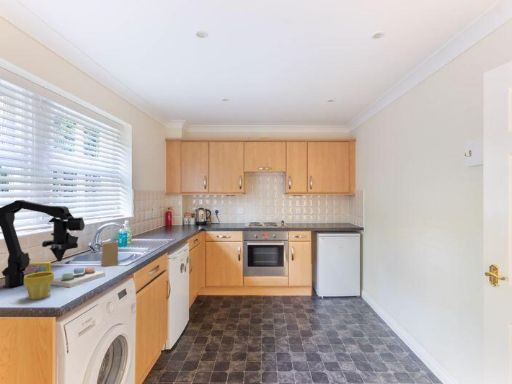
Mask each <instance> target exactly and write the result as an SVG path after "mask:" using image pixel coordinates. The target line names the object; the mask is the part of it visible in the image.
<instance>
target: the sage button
mask: <svg viewBox="0 0 512 384" xmlns="http://www.w3.org/2000/svg"><path fill="white" fill-rule="evenodd" d="M73 274H74V272H73V273H72V272H69V273H63V274H62V276H61V277H62V279H63V280H67V279H71V278H73Z"/></svg>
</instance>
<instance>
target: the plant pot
mask: <svg viewBox="0 0 512 384" xmlns="http://www.w3.org/2000/svg"><path fill="white" fill-rule="evenodd" d="M54 279H55V273H54V272H53V271H51V272H39V273H33V274H29V275H26V276H24V285H23V286H25V288H26V291H27V297H28V298H29V300H32V301H33V300H34V301H35V300H40V299H44V298H47V297H49V293H50V290H51V283H52V281H53V280H54Z"/></svg>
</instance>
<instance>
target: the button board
mask: <svg viewBox="0 0 512 384" xmlns="http://www.w3.org/2000/svg"><path fill="white" fill-rule="evenodd" d="M105 276H106V272H105V271H99V270H94V272H91V273H85V270H84V272H83V273H80V274H74V273H73V278H71V279H67V280H63V279H62V276H60V277H57V278H54V280H53V281H52V283H51V285H53V286H58V287H64V288H72V287H76V286H78V285H82V284H84V283H87V282H89V281H94V280H96V278H97V279H99V277H100V278H103V277H105Z"/></svg>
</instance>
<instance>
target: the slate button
mask: <svg viewBox="0 0 512 384" xmlns="http://www.w3.org/2000/svg"><path fill="white" fill-rule="evenodd" d="M84 271H85V268H84V267H77V268H74V269H73V274H80V273H83V272H84Z"/></svg>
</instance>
